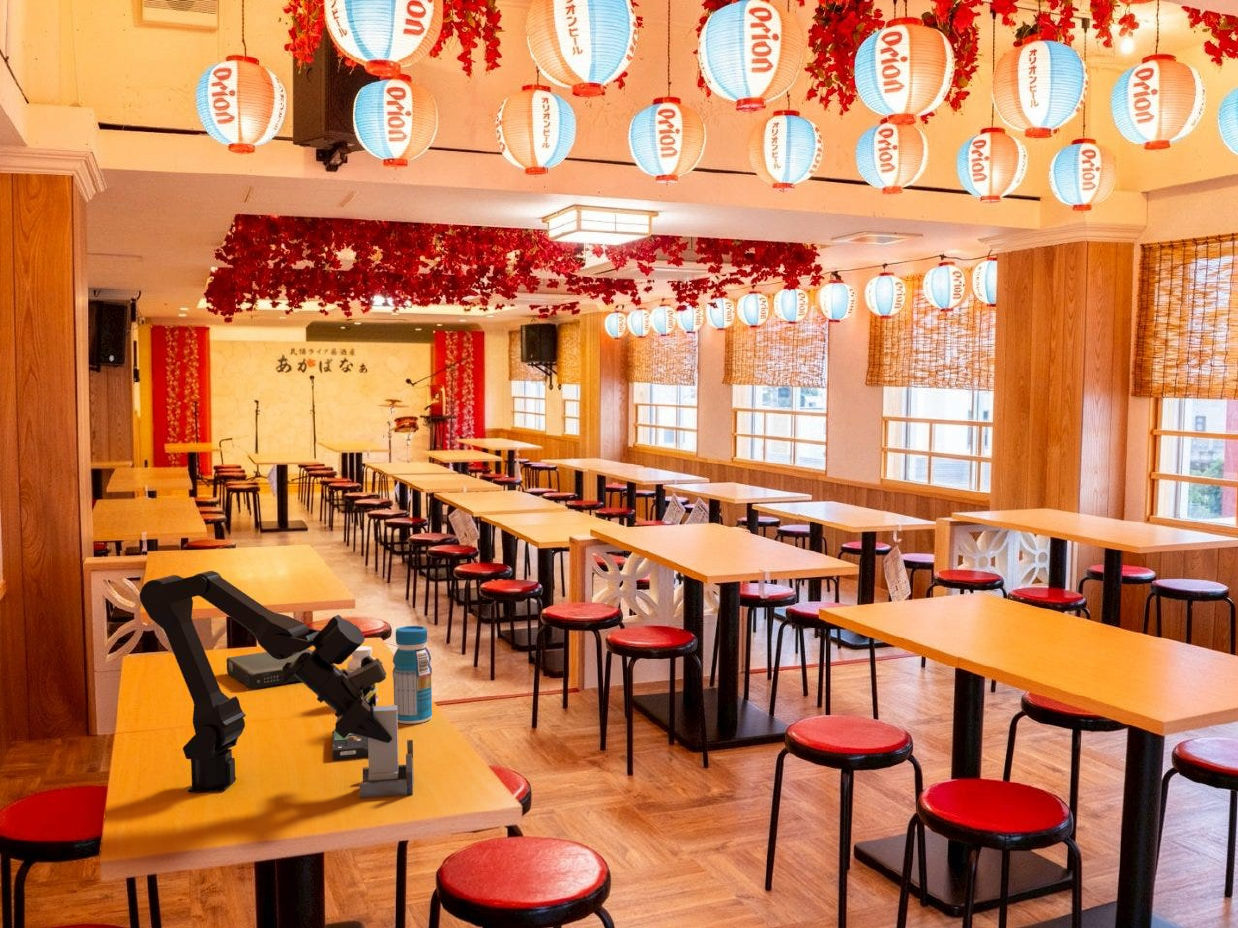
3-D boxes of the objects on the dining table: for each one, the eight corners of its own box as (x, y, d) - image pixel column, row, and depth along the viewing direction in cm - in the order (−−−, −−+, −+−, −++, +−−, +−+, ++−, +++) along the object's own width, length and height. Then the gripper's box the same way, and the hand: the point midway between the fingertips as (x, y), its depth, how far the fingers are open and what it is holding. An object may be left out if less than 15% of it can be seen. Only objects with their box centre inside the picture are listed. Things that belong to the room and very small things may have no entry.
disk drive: (387, 758, 207) (382, 735, 221) (387, 744, 207) (382, 722, 221) (332, 764, 204) (331, 740, 218) (332, 749, 204) (330, 727, 218)
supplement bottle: (382, 699, 248) (380, 645, 247) (372, 707, 241) (371, 651, 240) (354, 699, 248) (352, 644, 248) (344, 706, 242) (342, 651, 241)
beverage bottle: (393, 726, 226) (391, 633, 225) (393, 715, 234) (391, 625, 233) (433, 723, 228) (431, 631, 227) (432, 712, 236) (430, 623, 235)
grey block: (368, 780, 186) (367, 712, 185) (370, 770, 191) (369, 705, 190) (397, 778, 187) (396, 711, 186) (398, 769, 192) (397, 703, 191)
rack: (359, 798, 184) (358, 758, 183) (363, 780, 192) (362, 742, 192) (413, 794, 185) (412, 755, 185) (414, 777, 194) (413, 739, 194)
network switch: (301, 662, 288) (301, 644, 288) (343, 677, 271) (343, 657, 271) (216, 677, 273) (216, 658, 272) (255, 694, 255) (254, 674, 255)
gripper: (354, 658, 178) (422, 719, 180) (361, 635, 196) (423, 690, 198) (306, 707, 177) (375, 767, 179) (318, 679, 195) (381, 734, 197)
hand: (390, 737), depth 189 cm, fingers closed on grey block, 3 cm apart
